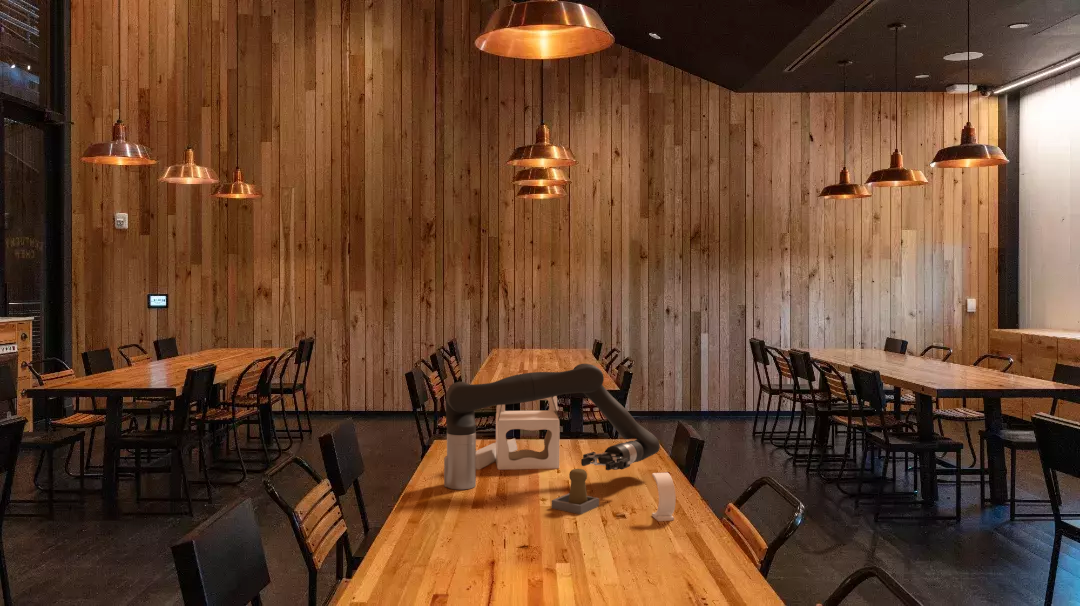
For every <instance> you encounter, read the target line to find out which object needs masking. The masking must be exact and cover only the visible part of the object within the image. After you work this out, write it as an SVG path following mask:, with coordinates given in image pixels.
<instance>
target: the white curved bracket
mask: <svg viewBox="0 0 1080 606" xmlns="http://www.w3.org/2000/svg"><path fill="white" fill-rule="evenodd" d="M651 475H652V476H651V477H652V478H653V479H654V481H655V484H656V486H657V492H658V506H657V510H656V512H651V516H652V517H653V518H654V519H655V520H656V521H657V522H667V521H675V517H674V516H673V514H674V512H675V509H676V501H677V499H676V497H677V496H676V495H677V494H676V488H675V484H674V480H673V478H672V476H671V474H670V473H669V472H653V473H651Z"/></svg>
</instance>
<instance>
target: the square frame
mask: <svg viewBox="0 0 1080 606" xmlns="http://www.w3.org/2000/svg"><path fill="white" fill-rule="evenodd" d="M569 494H570V492H568V493H566V494H564V495H561V496H559V497H557V498H554V499H552V500H551V509H554V510H559V511H563V512H568V513H573V514H578V515H583V514H585V513H587V512H589V511H591V510H593V509H596V508H598V507H599V506H600V498H599V497H596V496H595V497H594V496H590V495H587V500H588V501H587V502H585V503H583V504H581V505H578V504H573V503H568V502H569Z"/></svg>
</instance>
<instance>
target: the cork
mask: <svg viewBox="0 0 1080 606" xmlns="http://www.w3.org/2000/svg"><path fill="white" fill-rule="evenodd" d="M568 477H569V480H570V488H569V493H570V494H569V502H568V503H573V504H578V505H581V504H583V503H585V502H587V501H588V500H587V496H588V493H587V487H586V486H587V485H586V481H587V478H588V473H587V471H586V470H585V469H582V468H573V469H571V470H570V471H569V476H568Z"/></svg>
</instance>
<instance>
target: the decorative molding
mask: <svg viewBox="0 0 1080 606" xmlns="http://www.w3.org/2000/svg"><path fill="white" fill-rule="evenodd" d="M507 443H508V447H509V452H515V451H518V445H517V441H516V438H512V439H507ZM494 462H495V463H496V442H492V443H490V444H488V445H486V446H484V447H481V448H479V449H476V470H481V469H483V468H486V467H487V466H490V465H491V464H493V463H494Z"/></svg>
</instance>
